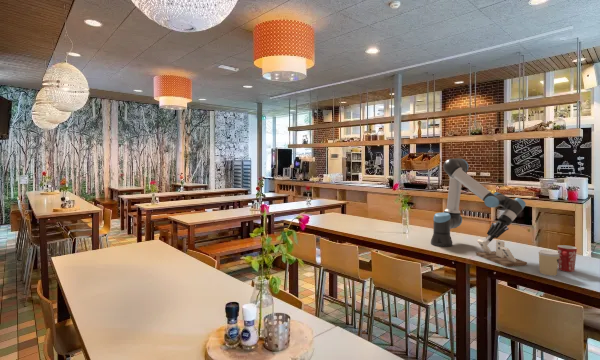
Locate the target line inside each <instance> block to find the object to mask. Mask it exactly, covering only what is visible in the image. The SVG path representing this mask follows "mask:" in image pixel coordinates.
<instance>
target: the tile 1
mask: <svg viewBox="0 0 600 360" xmlns="http://www.w3.org/2000/svg"><path fill="white" fill-rule="evenodd" d="M476 241H477V243H478V244H479V245H480V248H481V249H482V250H483V252H487V253H491V251H492V250H491V249H490V247H489V246H488V245H487V244H486V243H485V241H484V240H483V239H480V238H478V239H477V240H476Z"/></svg>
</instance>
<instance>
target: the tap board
mask: <svg viewBox="0 0 600 360" xmlns="http://www.w3.org/2000/svg"><path fill="white" fill-rule="evenodd" d="M475 255H476V256H478V257H480V258H483V259H485V260H488V261H491V262H493V263H496V264H498V265H501V266H504V267H506V268H509V267H523V266H527V265H528V262H527V261H524V260H521V259H518V258H515V257H514V258H515V259H516V262H512V261H509V260H508V259H507V257H506V256H505V255H504V258H501V257H498V256H496V250H493V251H492V250H491V253H487V252H485V251H479V252H478V251H477V252H475Z"/></svg>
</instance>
